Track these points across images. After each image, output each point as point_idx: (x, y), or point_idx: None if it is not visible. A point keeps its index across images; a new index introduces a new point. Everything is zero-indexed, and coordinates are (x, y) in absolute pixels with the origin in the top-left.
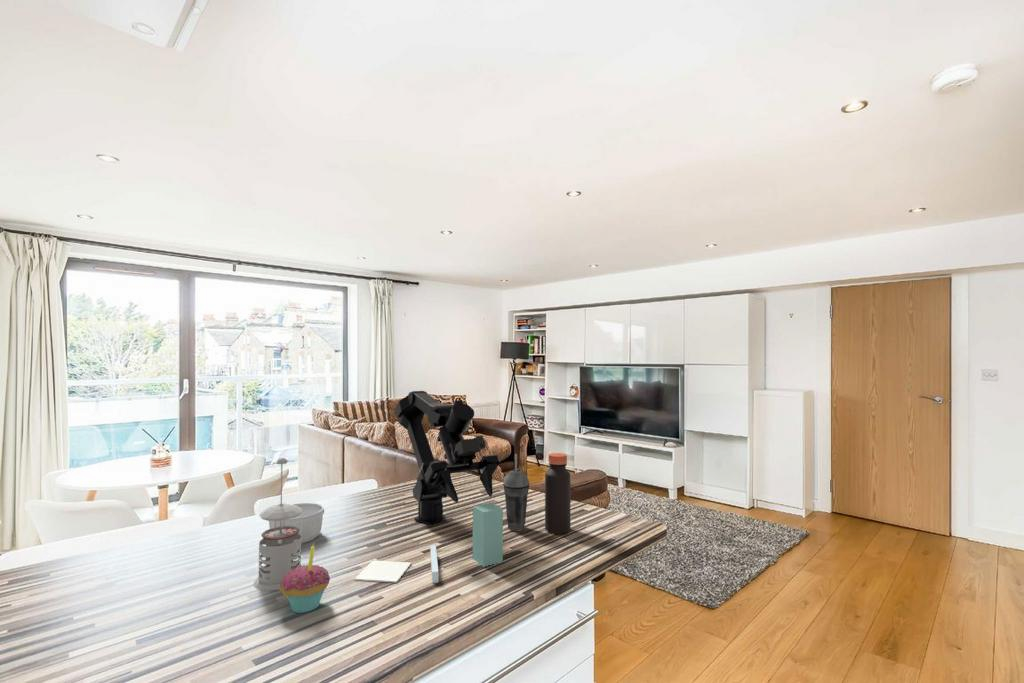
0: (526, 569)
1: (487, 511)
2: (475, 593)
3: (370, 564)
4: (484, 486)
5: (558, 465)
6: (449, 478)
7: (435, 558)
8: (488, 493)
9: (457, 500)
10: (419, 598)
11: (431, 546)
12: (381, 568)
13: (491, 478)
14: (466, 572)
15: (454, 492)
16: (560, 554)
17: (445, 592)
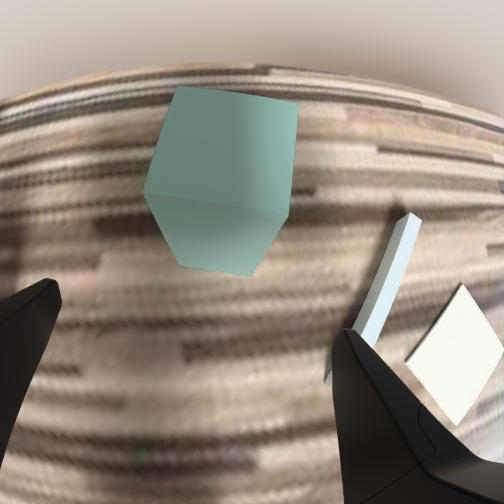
0: None
1: (274, 99)
2: (350, 130)
3: (468, 404)
4: (19, 397)
5: None
6: (443, 472)
7: (385, 290)
8: (50, 322)
9: (349, 330)
10: (443, 194)
11: None
12: (463, 369)
13: None
14: (316, 217)
15: (377, 369)
16: (54, 144)
17: (399, 175)
